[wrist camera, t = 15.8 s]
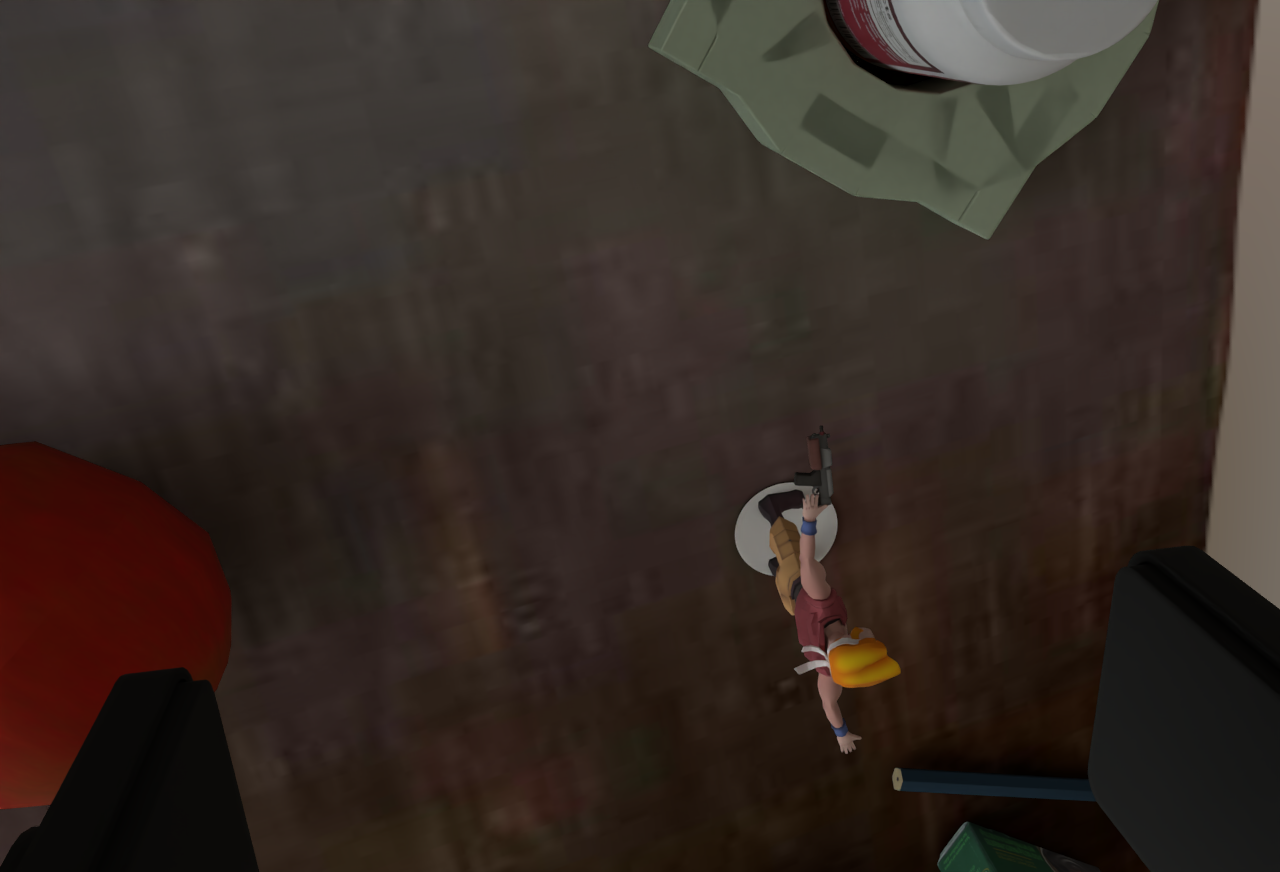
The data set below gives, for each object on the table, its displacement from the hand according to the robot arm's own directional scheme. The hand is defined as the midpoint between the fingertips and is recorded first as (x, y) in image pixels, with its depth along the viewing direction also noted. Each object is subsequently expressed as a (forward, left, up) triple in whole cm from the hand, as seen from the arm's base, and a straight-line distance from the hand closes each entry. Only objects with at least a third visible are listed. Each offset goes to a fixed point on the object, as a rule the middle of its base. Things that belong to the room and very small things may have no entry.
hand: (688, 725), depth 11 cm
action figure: (+12, -6, -26) cm, 29 cm away
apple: (-15, -16, -21) cm, 30 cm away
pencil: (+23, -14, -25) cm, 37 cm away
